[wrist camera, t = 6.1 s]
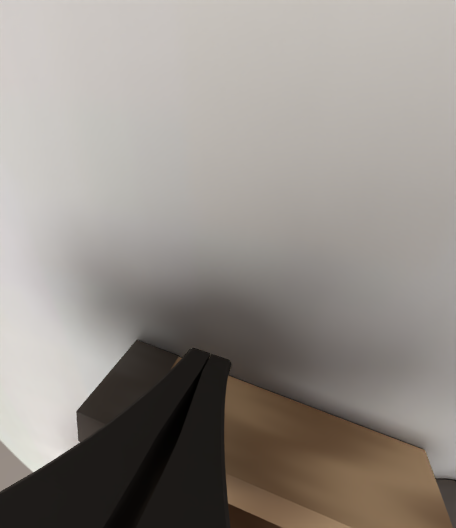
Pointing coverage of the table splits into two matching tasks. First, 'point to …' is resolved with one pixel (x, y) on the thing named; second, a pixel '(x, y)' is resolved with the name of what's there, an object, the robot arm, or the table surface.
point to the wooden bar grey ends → (291, 455)
